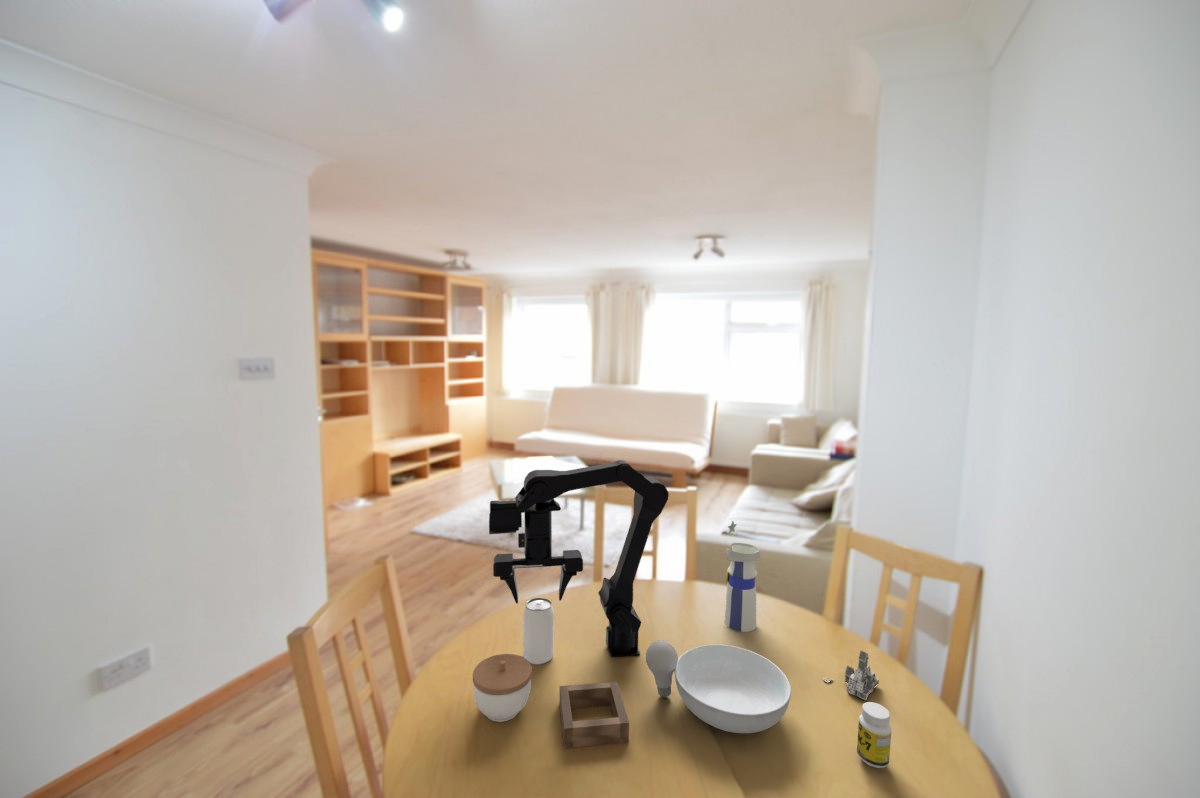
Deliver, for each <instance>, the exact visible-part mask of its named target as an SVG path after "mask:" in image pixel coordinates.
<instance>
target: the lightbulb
mask: <svg viewBox="0 0 1200 798" xmlns="http://www.w3.org/2000/svg"><path fill="white" fill-rule="evenodd" d="M678 658H679V657H678V653H677V650H676V648H675V647H674V646H673V644H671V642H668V641H666V640H663V639H660V640H656V641H653V642H652V643H650V645H649V646H648V647H647V649H646V653H645V662H646V665H647V668H648V669H649V670H650V672H651V673H652V675H653V676H654V681H655V685H656V687H657V694H658V695H659V697H661V698H668V697H670V696H671V694H672V683H673V674H674V673H675V672H674V671H675V668H676V665H677V661H678Z"/></svg>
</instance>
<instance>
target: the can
mask: <svg viewBox="0 0 1200 798" xmlns="http://www.w3.org/2000/svg"><path fill="white" fill-rule="evenodd" d="M554 612H555V611H554V608H553V604H552V601H551V600H550V599H548V598H546V597H545V598H544V597H535V598H532V599H529V600H528V601H526V603H525V607H524V610H523V621H522V622H523V624H522V625H523V626H522V628H523V630H522V631H523V635H522V636H523V637H522V639H523V641H522V642H523V643H522V644H523V645H522V646H523V648H522V649H523V652H522V653H523V654H522V657H523V658H525V659H527V660H528V661H529V663H530V664H531V665H534V666H535V665H536V666H539V665H544V664H546V663H549V662H550V661H551V660H552V658H553V657H554V656H553V655H554V628H555V627H554Z"/></svg>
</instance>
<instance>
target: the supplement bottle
mask: <svg viewBox="0 0 1200 798" xmlns="http://www.w3.org/2000/svg"><path fill="white" fill-rule="evenodd" d="M890 718H891V713H890V711H889V710H888V709H887V708H886V707H885V706H883V705H881V704H879V703H877V702H871V701H868V702H864V703H863V704H862V707H861V714H860V715H859V717H858V727H857V742H856V753H857V755H858V757H859V759H860V760H861V761H863V763H865V764H867V765H868V766H870V767H872V768H877V769H884V768H886V767H888V766H889V764H890V756H891V743H892V742H891V741H892V740H891V739H892V726H891V724H890Z"/></svg>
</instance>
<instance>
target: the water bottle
mask: <svg viewBox="0 0 1200 798" xmlns="http://www.w3.org/2000/svg"><path fill="white" fill-rule="evenodd" d="M737 525H738V524H737V523H735V522H734V520H732V521H731V524H730V525H728V526H727V527H728V529H729V531H728V534H731V533H736V532H735V528H736V526H737ZM725 556H726V557H725V558H726V560H727V561H729V562H730V564H729V566H728V568H727V570H726V572H725V573H726V574H725V581H726V583H727V585H726V595H725V596H726V597H725V610H724V619H723V620H724V622H723V623H724V624H725V626H726V625H727V626H726V627H728V628H729V629H731V630H732V631H733V630H734V631H736V632H739V633H741V632H742V633H750V632H752V631H755V630H756V629H757V587H756V577H757V575H758V571H757V570H756V566H755V565H756V561H758V560H759V559H760V558H761V554H760V549H759V548H758V547H757V546H755V545H752V544H748V543H744V542H733V543H731V549H729V548H728V547H727V548H726V549H725Z"/></svg>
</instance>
